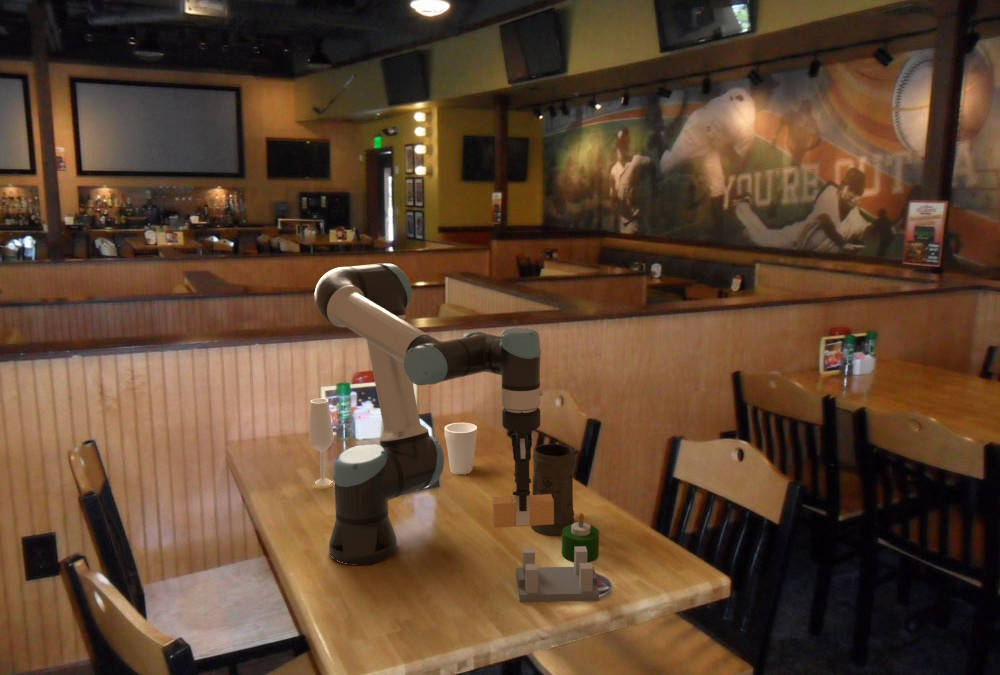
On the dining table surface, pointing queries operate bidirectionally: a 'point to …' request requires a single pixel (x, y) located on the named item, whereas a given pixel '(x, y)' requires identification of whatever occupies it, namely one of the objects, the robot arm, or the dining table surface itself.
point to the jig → (557, 579)
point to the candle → (580, 539)
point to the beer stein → (554, 483)
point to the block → (538, 510)
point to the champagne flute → (320, 433)
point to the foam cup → (461, 446)
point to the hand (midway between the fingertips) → (522, 519)
